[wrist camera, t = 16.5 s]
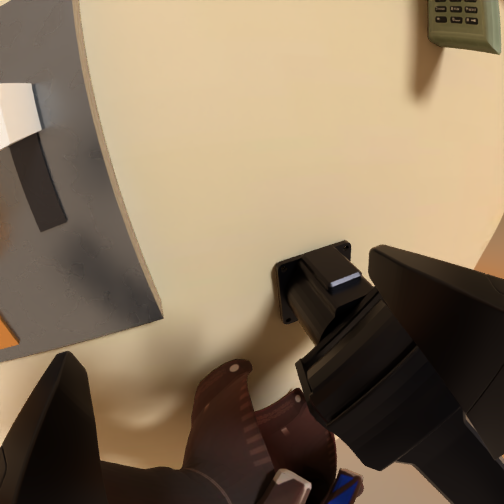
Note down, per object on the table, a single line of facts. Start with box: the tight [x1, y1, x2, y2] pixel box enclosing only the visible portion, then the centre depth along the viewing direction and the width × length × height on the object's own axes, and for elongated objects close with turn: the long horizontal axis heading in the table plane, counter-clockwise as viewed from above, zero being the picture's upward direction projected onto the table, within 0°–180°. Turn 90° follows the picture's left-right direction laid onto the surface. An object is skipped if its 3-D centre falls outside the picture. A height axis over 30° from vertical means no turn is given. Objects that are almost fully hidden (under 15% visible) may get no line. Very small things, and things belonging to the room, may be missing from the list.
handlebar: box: [100, 359, 364, 504], centre depth 22 cm, size 45×13×20 cm, turn 37°
